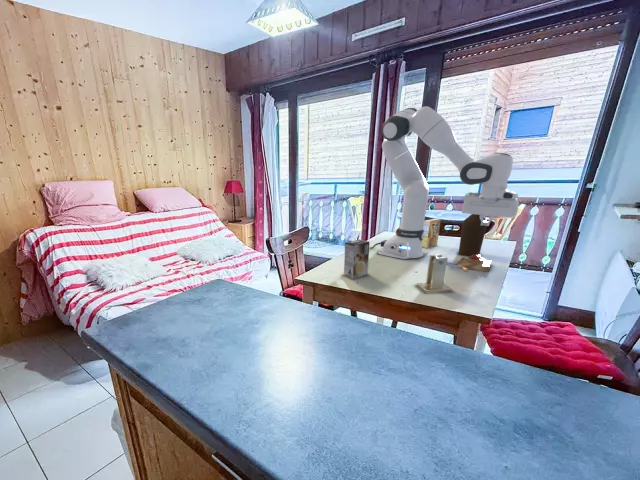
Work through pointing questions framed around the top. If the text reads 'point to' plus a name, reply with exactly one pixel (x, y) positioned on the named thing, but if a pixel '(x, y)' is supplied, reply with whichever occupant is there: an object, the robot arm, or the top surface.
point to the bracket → (435, 275)
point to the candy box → (431, 232)
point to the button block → (475, 263)
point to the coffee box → (356, 258)
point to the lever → (454, 265)
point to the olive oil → (472, 235)
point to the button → (476, 256)
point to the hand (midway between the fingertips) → (484, 225)
